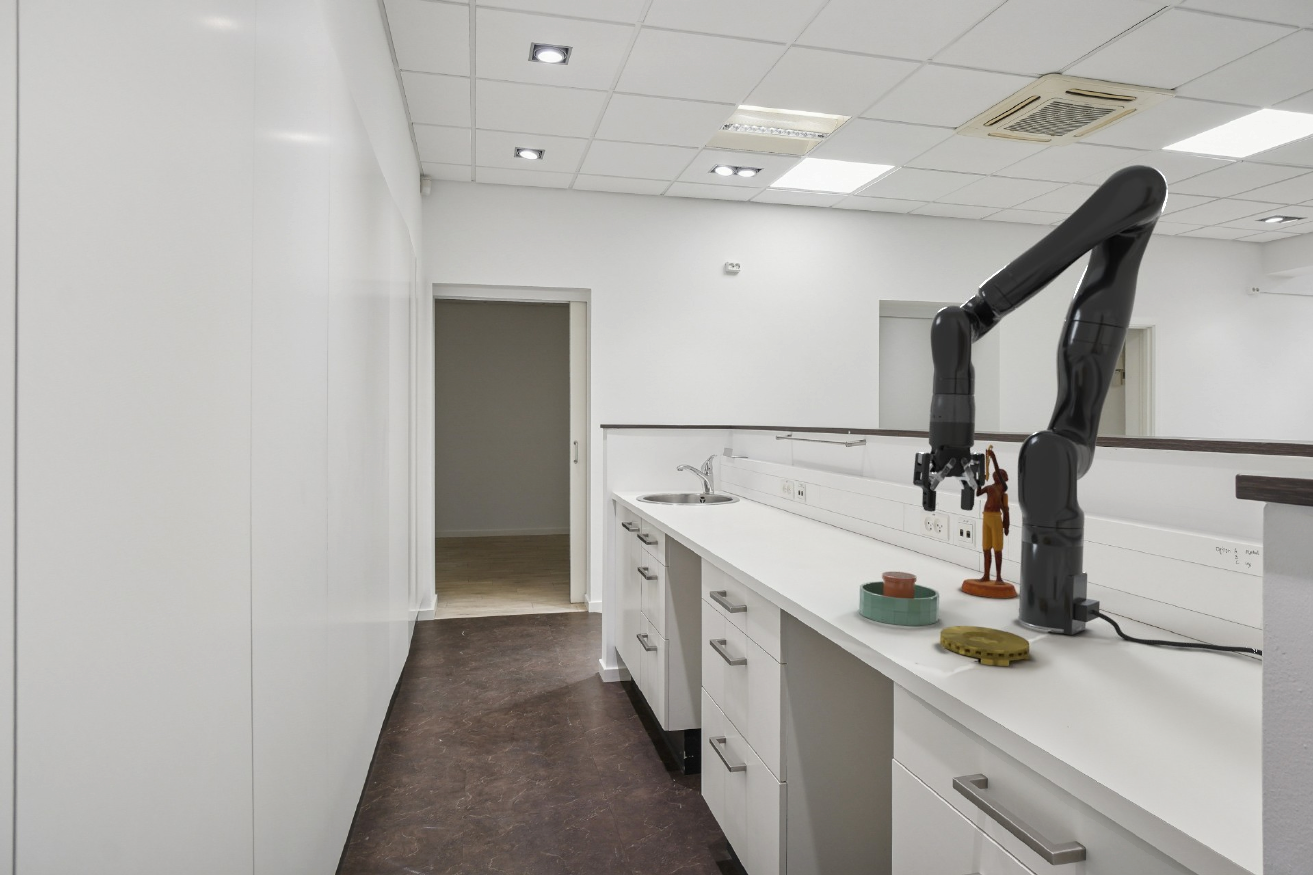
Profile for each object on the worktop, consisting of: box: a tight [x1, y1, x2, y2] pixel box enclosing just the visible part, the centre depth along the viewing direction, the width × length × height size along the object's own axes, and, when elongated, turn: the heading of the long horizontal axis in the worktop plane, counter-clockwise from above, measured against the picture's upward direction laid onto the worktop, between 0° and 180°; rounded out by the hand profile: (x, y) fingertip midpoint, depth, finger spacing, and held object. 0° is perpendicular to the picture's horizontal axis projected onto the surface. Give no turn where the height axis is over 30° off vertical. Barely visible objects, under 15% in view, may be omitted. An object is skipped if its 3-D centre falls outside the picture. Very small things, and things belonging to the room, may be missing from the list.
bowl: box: [858, 580, 940, 627], centre depth 124 cm, size 13×13×5 cm
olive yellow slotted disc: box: [939, 625, 1030, 667], centre depth 107 cm, size 12×12×2 cm
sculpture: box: [960, 444, 1018, 599], centre depth 145 cm, size 10×10×30 cm
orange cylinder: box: [881, 571, 918, 598], centre depth 124 cm, size 6×6×7 cm
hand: (948, 510), depth 128 cm, fingers open, 8 cm apart
